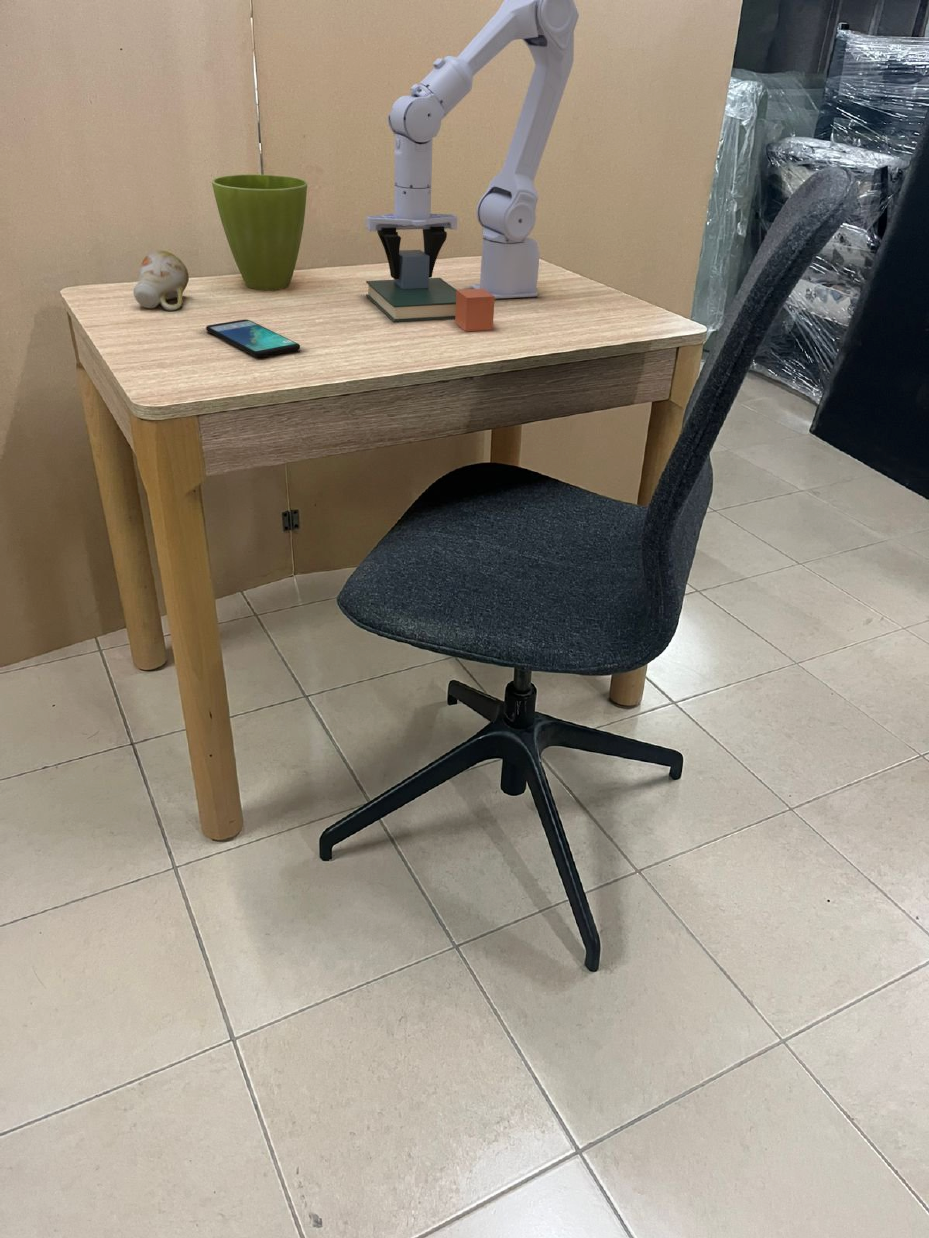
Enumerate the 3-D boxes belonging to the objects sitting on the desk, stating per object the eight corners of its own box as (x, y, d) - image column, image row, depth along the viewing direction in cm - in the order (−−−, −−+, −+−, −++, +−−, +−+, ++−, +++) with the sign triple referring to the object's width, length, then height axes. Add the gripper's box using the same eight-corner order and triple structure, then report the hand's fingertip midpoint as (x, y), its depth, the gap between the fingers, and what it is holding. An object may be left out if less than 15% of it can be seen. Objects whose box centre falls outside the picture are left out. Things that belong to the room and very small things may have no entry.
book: (439, 292, 155) (439, 277, 153) (471, 317, 143) (472, 301, 142) (366, 296, 150) (365, 280, 149) (393, 322, 139) (393, 305, 138)
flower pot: (203, 282, 152) (192, 178, 143) (273, 269, 162) (266, 171, 153) (260, 301, 144) (252, 192, 136) (329, 287, 154) (326, 184, 145)
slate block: (419, 281, 151) (420, 249, 148) (428, 288, 147) (429, 256, 144) (393, 282, 149) (394, 250, 146) (402, 289, 146) (402, 256, 143)
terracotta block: (481, 321, 142) (483, 288, 139) (492, 329, 138) (495, 296, 136) (454, 323, 140) (456, 290, 138) (465, 331, 137) (467, 297, 134)
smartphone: (247, 318, 134) (302, 345, 125) (248, 323, 134) (302, 350, 125) (203, 325, 130) (256, 353, 121) (203, 331, 130) (257, 359, 121)
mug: (121, 311, 137) (116, 244, 136) (161, 325, 146) (157, 262, 145) (163, 304, 135) (157, 236, 134) (201, 319, 144) (196, 255, 143)
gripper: (375, 190, 134) (375, 285, 142) (465, 189, 139) (461, 281, 147) (362, 182, 140) (363, 274, 147) (449, 182, 144) (446, 270, 152)
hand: (411, 277), depth 147 cm, fingers open, 5 cm apart
